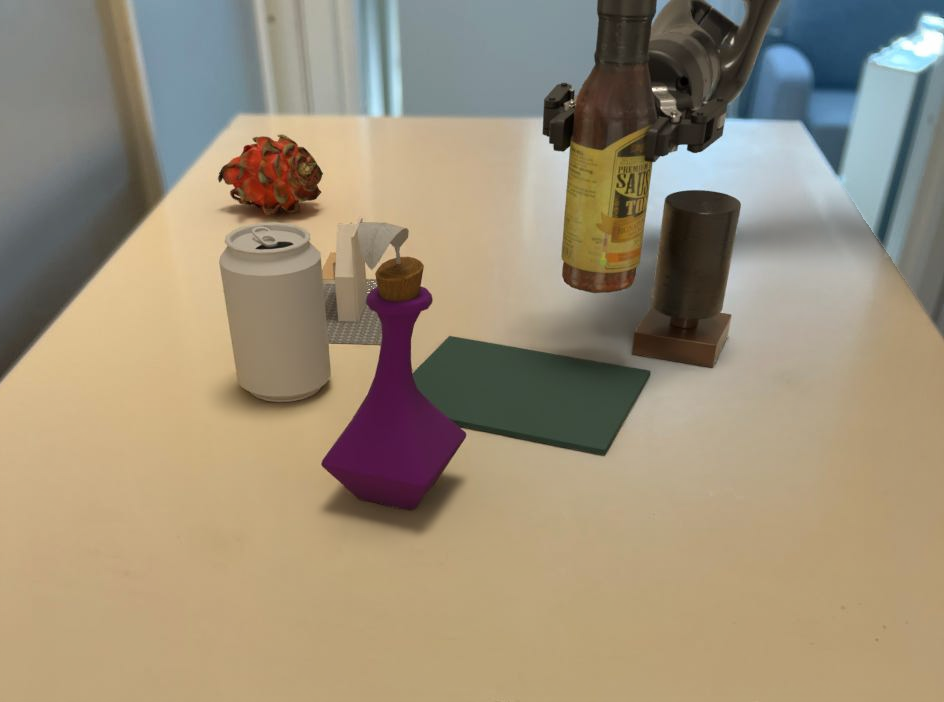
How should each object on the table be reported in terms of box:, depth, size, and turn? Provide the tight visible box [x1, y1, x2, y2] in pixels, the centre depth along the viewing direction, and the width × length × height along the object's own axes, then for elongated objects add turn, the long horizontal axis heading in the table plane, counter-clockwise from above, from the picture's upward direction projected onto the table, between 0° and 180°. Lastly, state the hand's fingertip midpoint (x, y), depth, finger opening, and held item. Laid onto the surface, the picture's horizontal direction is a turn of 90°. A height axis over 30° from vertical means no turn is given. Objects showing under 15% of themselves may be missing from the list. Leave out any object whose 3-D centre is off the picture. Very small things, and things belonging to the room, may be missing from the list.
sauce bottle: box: [561, 0, 658, 294], centre depth 73 cm, size 6×6×20 cm
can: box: [218, 221, 332, 403], centre depth 76 cm, size 8×8×12 cm
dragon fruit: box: [217, 134, 324, 217], centre depth 111 cm, size 8×8×12 cm
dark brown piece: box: [631, 189, 742, 368], centre depth 83 cm, size 7×7×12 cm
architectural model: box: [322, 215, 382, 345], centre depth 90 cm, size 3×7×7 cm, turn 177°
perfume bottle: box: [320, 221, 467, 511], centre depth 62 cm, size 8×8×18 cm
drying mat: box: [412, 335, 652, 456], centre depth 79 cm, size 18×14×1 cm
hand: (604, 141), depth 71 cm, fingers closed on sauce bottle, 6 cm apart
